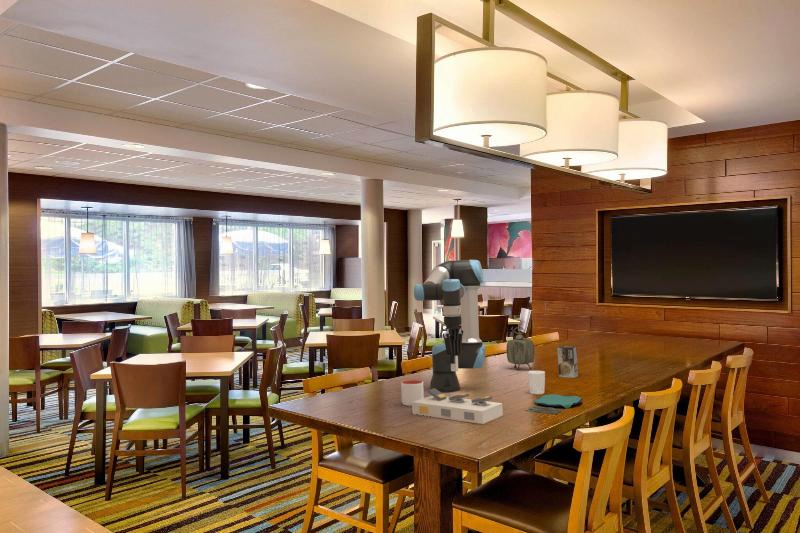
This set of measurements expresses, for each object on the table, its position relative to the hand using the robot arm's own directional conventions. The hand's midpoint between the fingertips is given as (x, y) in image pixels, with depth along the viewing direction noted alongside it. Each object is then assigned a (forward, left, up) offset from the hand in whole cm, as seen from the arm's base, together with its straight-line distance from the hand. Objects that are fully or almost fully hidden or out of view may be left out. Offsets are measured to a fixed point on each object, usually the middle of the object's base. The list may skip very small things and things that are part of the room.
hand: (454, 370), depth 259 cm
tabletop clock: (-23, +106, -17) cm, 110 cm away
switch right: (+15, -3, -10) cm, 18 cm away
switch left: (-7, -3, -10) cm, 13 cm away
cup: (-24, +2, -17) cm, 30 cm away
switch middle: (+4, -3, -10) cm, 11 cm away
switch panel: (+4, -5, -17) cm, 18 cm away
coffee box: (+10, +97, -17) cm, 99 cm away
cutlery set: (+31, +29, -18) cm, 46 cm away
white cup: (+14, +50, -17) cm, 55 cm away
